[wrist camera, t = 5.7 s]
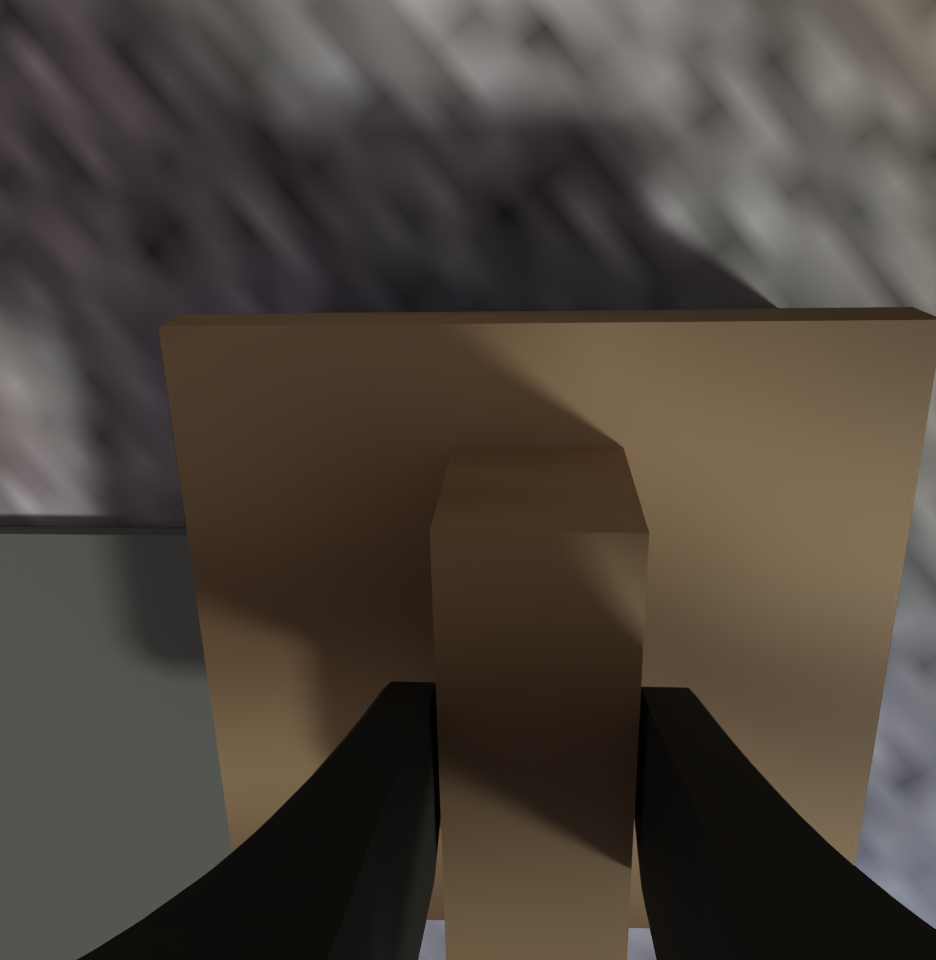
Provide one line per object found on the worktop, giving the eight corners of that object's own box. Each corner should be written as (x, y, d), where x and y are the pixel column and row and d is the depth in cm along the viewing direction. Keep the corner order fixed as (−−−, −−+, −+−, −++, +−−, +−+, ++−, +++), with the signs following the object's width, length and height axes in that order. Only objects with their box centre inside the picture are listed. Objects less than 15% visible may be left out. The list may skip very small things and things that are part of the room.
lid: (825, 890, 16) (913, 1112, 12) (256, 869, 17) (177, 1074, 13) (912, 307, 13) (1073, 373, 9) (184, 314, 13) (47, 378, 10)
